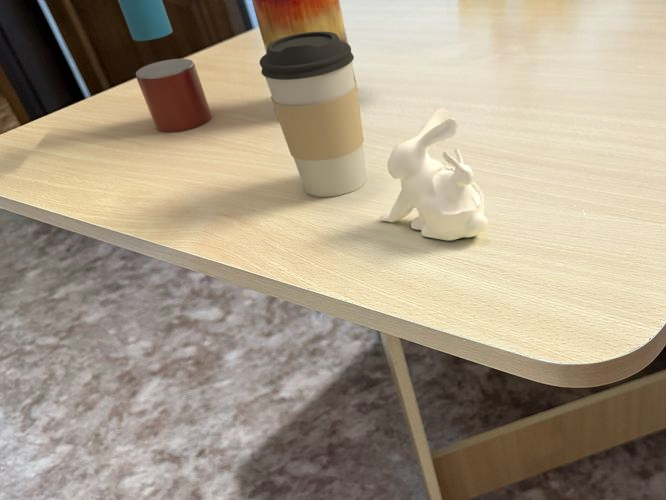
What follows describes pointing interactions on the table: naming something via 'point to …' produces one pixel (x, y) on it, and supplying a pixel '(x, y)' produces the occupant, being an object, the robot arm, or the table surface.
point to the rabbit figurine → (436, 185)
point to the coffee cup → (318, 110)
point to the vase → (298, 18)
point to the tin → (174, 95)
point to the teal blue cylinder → (146, 19)
